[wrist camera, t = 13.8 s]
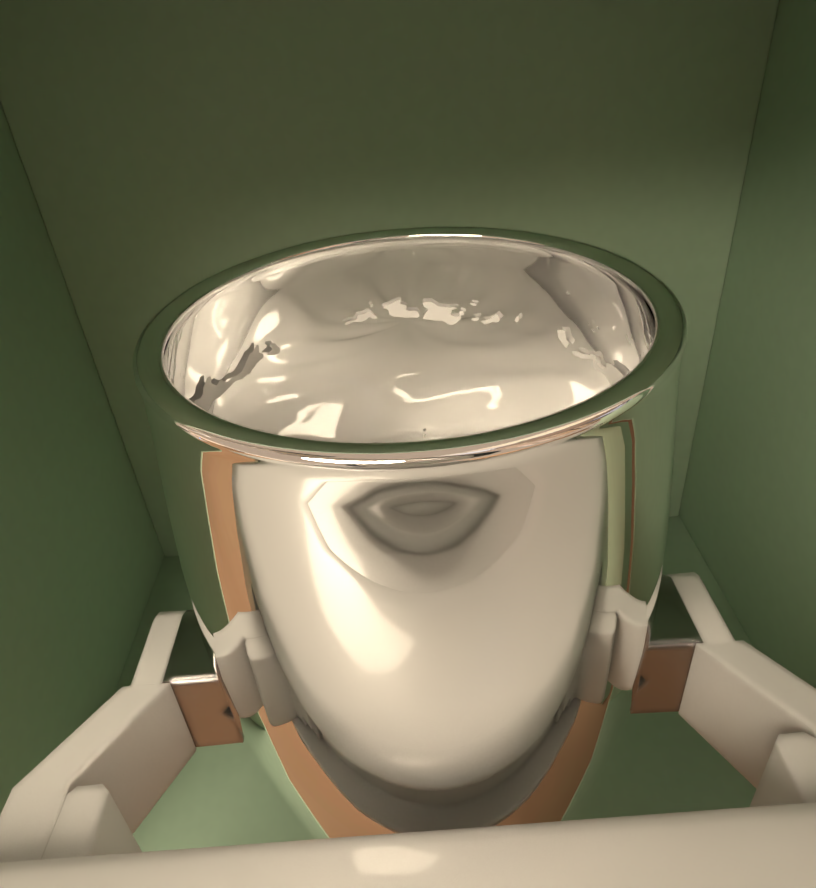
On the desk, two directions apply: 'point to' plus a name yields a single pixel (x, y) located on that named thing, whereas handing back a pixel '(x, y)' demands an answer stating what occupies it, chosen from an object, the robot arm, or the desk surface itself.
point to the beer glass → (422, 513)
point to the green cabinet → (376, 208)
